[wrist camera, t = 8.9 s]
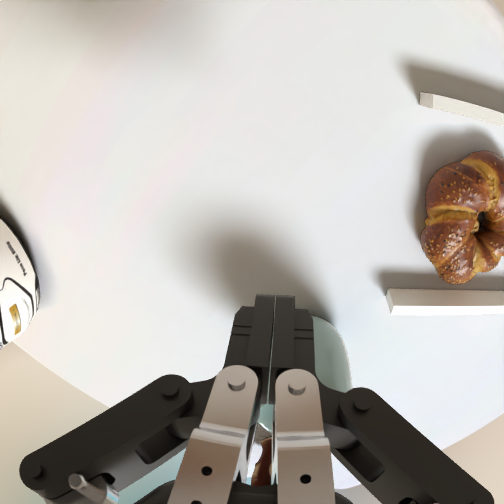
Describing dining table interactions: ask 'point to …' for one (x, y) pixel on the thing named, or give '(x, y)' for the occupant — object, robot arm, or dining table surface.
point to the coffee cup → (263, 465)
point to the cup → (321, 365)
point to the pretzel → (465, 217)
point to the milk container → (15, 286)
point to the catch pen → (449, 299)
